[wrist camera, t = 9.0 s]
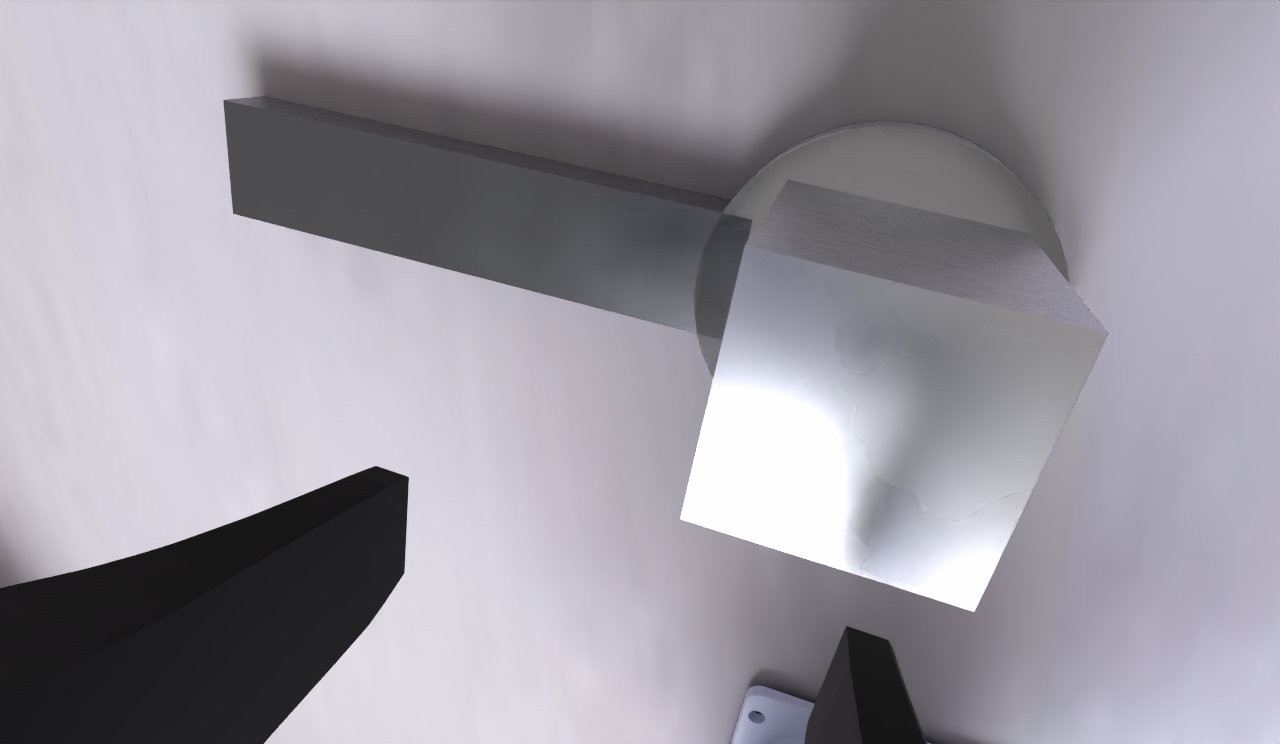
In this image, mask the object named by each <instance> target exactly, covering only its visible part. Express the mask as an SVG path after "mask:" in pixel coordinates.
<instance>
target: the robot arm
mask: <svg viewBox="0 0 1280 744" xmlns="http://www.w3.org/2000/svg"><path fill="white" fill-rule="evenodd" d="M408 483H409V477H407V476H404V475H401V474H398V473H395V472H392V471H389V470H386V469H383V468H380V467H377V466H375V467H372V468H369V469H366V470H364V471H361V472H358V473H356V474H353V475H351V476H348V477H346V478H343V479H341V480H338V481H336V482H333V483H331V484H328V485H326V486H324V487H321V488H319V489H316V490H314V491H311V492H309V493H307V494H304V495H302V496H299V497H297V498H294V499H292V500H289V501H287V502H284V503H282V504H279V505H277V506H274V507H272V508H269V509H267V510H264V511H262V512H259V513H257V514H254V515H252V516H249V517H246V518H244V519H241V520H238V521H235V522H232V523H230V524H227V525H224V526H221V527H218V528H216V529H213V530H210V531H207V532H204V533H202V534H199V535H196V536H193V537H191V538H188V539H185V540H182V541H179V542H176V543H173V544H170V545H167V546H164V547H161V548H158V549H154V550H151V551H148V552H145V553H141V554H138V555H134V556H131V557H127V558H124V559H120V560H117V561H113V562H109V563H106V564H102V565H99V566H95V567H91V568H87V569H83V570H79V571H75V572H70V573H66V574H62V575H57V576H53V577H48V578H44V579H39V580H35V581H30V582H26V583H22V584H17V585H13V586H8V587H4V588H0V744H264V743H265V742H266V740H267V739H268V738H269V737H270V736H271V734H272V733H273V732H274V731H275V730H276V729H277V728H278V727H279V725H280V724H281V723H282V722H283V721H284V720H285V719H286V718H287V717H288V715H289V714H290V713H291V712H292V711H293V710H294V709H295V708H296V707H297V705H298V704H299V703H300V702H301V701H302V700H303V699H304V698H305V696H306V695H307V694H308V693H309V692H310V691H311V690H312V689H313V688H314V686H315V685H316V684H317V683H318V682H319V681H320V680H321V679H322V677H323V676H324V675H325V674H326V673H327V672H328V671H329V670H330V669H331V667H332V666H333V665H334V664H335V663H336V662H337V661H338V660H339V658H340V657H341V656H342V655H343V654H344V653H345V652H346V650H347V649H348V648H349V647H350V646H351V645H352V644H353V643H354V641H355V640H356V639H357V638H358V637H359V636H360V635H361V633H362V632H363V631H364V630H365V629H366V628H367V626H368V625H369V624H370V622H371V621H372V620H373V618H374V617H375V615H376V614H377V613H378V611H379V610H380V608H381V607H382V606H383V604H384V603H385V601H386V600H387V598H388V597H389V595H390V594H391V592H392V591H393V589H394V588H395V586H396V585H397V583H398V582H399V580H400V579H401V577H402V576H403V574H404V568H405V547H406V525H407V504H408ZM753 711H759V712H760V713H762V714H758V713H755V712H753ZM730 744H931V743H928V742H926V740H925V737H924V734H923V732H922V729H921V727H920V724H919V722H918V719H917V716H916V714H915V711H914V708H913V706H912V703H911V700H910V697H909V695H908V692H907V689H906V686H905V683H904V680H903V678H902V675H901V672H900V669H899V666H898V663H897V660H896V657H895V653H894V650H893V648H892V646H891V644H890V643H889V641H888V640H886V639H883V638H880V637H877V636H874V635H871V634H868V633H865V632H862V631H860V630H857V629H854V628H851V627H848V626H846V628H845V630H844V633H843V635H842V638H841V640H840V643H839V645H838V648H837V650H836V653H835V655H834V658H833V660H832V663H831V665H830V668H829V670H828V673H827V675H826V677H825V680H824V682H823V685H822V687H821V690H820V692H819V695H818V697H817V700H816V702H815V704H814V703H811V702H808V701H806V700H803V699H800V698H797V697H794V696H791V695H788V694H785V693H782V692H779V691H776V690H773V689H771V688H768V687H764V686H753V687H751V688H749V689H748V690H747V692H746V695H745V698H744V701H743V705H742V708H741V711H740V714H739V717H738V721H737V724H736V727H735V730H734V734H733V737H732V740H731V743H730Z"/></svg>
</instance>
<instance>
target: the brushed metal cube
mask: <svg viewBox="0 0 1280 744" xmlns="http://www.w3.org/2000/svg"><path fill="white" fill-rule="evenodd" d="M1108 334H1109V333H1108V332H1107V331H1106V330H1105V328H1104V327H1103V326H1102V325H1101V323H1100V322H1099V321H1098V320H1097V318H1096V317H1095V316H1094V314H1093V313H1092V312H1091V311H1090V309H1089V308H1088V307H1087V306H1086V304H1085V303H1084V302H1083V301H1082V299H1081V298H1080V297H1079V296H1078V294H1077V293H1076V292H1075V291H1074V289H1073V288H1072V287H1071V285H1070V284H1069V283H1068V282H1067V280H1066V279H1065V278H1064V277H1063V275H1062V274H1061V273H1060V272H1059V270H1058V269H1057V268H1056V267H1055V265H1054V264H1053V263H1052V261H1051V260H1050V259H1049V258H1048V256H1047V255H1046V254H1045V253H1044V251H1043V250H1042V249H1041V248H1040V246H1039V245H1038V244H1037V243H1036V241H1035V240H1034V239H1033V238H1032V236H1031V235H1030V234H1029V233H1025V232H1021V231H1017V230H1012V229H1008V228H1003V227H999V226H994V225H990V224H985V223H981V222H976V221H972V220H967V219H963V218H958V217H954V216H949V215H945V214H940V213H936V212H932V211H927V210H923V209H918V208H914V207H909V206H905V205H900V204H896V203H891V202H887V201H882V200H878V199H873V198H869V197H864V196H860V195H855V194H851V193H847V192H842V191H838V190H833V189H829V188H824V187H820V186H815V185H811V184H806V183H802V182H797V181H793V180H787V182H786V183H785V185H784V186H783V188H782V189H781V191H780V192H779V194H778V196H777V197H776V199H775V200H774V202H773V203H772V205H771V206H770V208H769V209H768V211H767V212H766V214H765V215H764V217H763V218H762V220H761V221H760V223H759V224H758V226H757V227H756V229H755V230H754V232H753V233H752V235H751V236H750V238H749V239H748V241H747V243H746V244H745V246H744V250H743V255H742V259H741V263H740V267H739V272H738V276H737V280H736V284H735V289H734V293H733V297H732V301H731V306H730V310H729V314H728V318H727V323H726V327H725V331H724V335H723V340H722V344H721V348H720V352H719V357H718V361H717V365H716V369H715V374H714V378H713V382H712V386H711V391H710V395H709V399H708V403H707V408H706V412H705V416H704V420H703V425H702V429H701V433H700V438H699V442H698V446H697V450H696V455H695V459H694V463H693V467H692V472H691V476H690V480H689V484H688V489H687V493H686V497H685V501H684V506H683V510H682V514H681V518H680V519H682V520H685V521H688V522H691V523H695V524H698V525H701V526H704V527H707V528H710V529H714V530H717V531H720V532H723V533H726V534H729V535H733V536H736V537H739V538H742V539H745V540H748V541H752V542H755V543H758V544H761V545H764V546H767V547H771V548H774V549H777V550H780V551H783V552H786V553H790V554H793V555H796V556H799V557H802V558H805V559H808V560H812V561H815V562H818V563H821V564H824V565H827V566H831V567H834V568H837V569H840V570H843V571H846V572H850V573H853V574H856V575H859V576H862V577H865V578H869V579H872V580H875V581H878V582H881V583H884V584H888V585H891V586H894V587H897V588H900V589H903V590H907V591H910V592H913V593H916V594H919V595H922V596H925V597H929V598H932V599H935V600H938V601H941V602H944V603H948V604H951V605H954V606H957V607H960V608H963V609H967V610H970V611H973V612H974V611H975V609H976V607H977V605H978V603H979V601H980V599H981V597H982V595H983V593H984V590H985V588H986V586H987V584H988V582H989V580H990V578H991V576H992V574H993V572H994V570H995V568H996V566H997V564H998V561H999V559H1000V557H1001V555H1002V553H1003V551H1004V549H1005V547H1006V545H1007V543H1008V541H1009V539H1010V537H1011V535H1012V532H1013V530H1014V528H1015V526H1016V524H1017V522H1018V520H1019V518H1020V516H1021V514H1022V512H1023V510H1024V508H1025V506H1026V503H1027V501H1028V499H1029V497H1030V495H1031V493H1032V491H1033V489H1034V487H1035V485H1036V483H1037V481H1038V479H1039V477H1040V474H1041V472H1042V470H1043V468H1044V466H1045V464H1046V462H1047V460H1048V458H1049V456H1050V454H1051V452H1052V450H1053V448H1054V445H1055V443H1056V441H1057V439H1058V437H1059V435H1060V433H1061V431H1062V429H1063V427H1064V425H1065V423H1066V421H1067V419H1068V417H1069V414H1070V412H1071V410H1072V408H1073V406H1074V404H1075V402H1076V400H1077V398H1078V396H1079V394H1080V392H1081V390H1082V388H1083V385H1084V383H1085V381H1086V379H1087V377H1088V375H1089V373H1090V371H1091V369H1092V367H1093V365H1094V363H1095V361H1096V359H1097V356H1098V354H1099V352H1100V350H1101V348H1102V346H1103V344H1104V342H1105V340H1106V338H1107V336H1108Z"/></svg>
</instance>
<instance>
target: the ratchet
mask: <svg viewBox="0 0 1280 744" xmlns="http://www.w3.org/2000/svg"><path fill="white" fill-rule="evenodd" d="M224 112H225V123H226V135H227V147H228V158H229V170H230V182H231V193H232V205H233V214H237V215H241V216H244V217H248V218H252V219H256V220H260V221H264V222H268V223H271V224H275V225H279V226H283V227H287V228H291V229H295V230H298V231H302V232H306V233H310V234H314V235H318V236H322V237H326V238H329V239H333V240H337V241H341V242H345V243H349V244H353V245H356V246H360V247H364V248H368V249H372V250H376V251H380V252H384V253H387V254H391V255H395V256H399V257H403V258H407V259H411V260H414V261H418V262H422V263H426V264H430V265H434V266H438V267H442V268H445V269H449V270H453V271H457V272H461V273H465V274H469V275H472V276H476V277H480V278H484V279H488V280H492V281H496V282H499V283H503V284H507V285H511V286H515V287H519V288H523V289H527V290H530V291H534V292H538V293H542V294H546V295H550V296H554V297H557V298H561V299H565V300H569V301H573V302H577V303H581V304H585V305H588V306H592V307H596V308H600V309H604V310H608V311H612V312H615V313H619V314H623V315H627V316H631V317H635V318H639V319H642V320H646V321H650V322H654V323H658V324H662V325H666V326H670V327H673V328H677V329H681V330H685V331H689V332H693V333H697V336H698V339H699V343H700V347H701V350H702V354H703V356H704V359H705V361H706V363H707V366H708V368H709V370H710V373H711V375H712V376H713V378H714V374H715V369H716V365H717V361H718V357H719V352H720V348H721V344H722V340H723V335H724V331H725V327H726V323H727V318H728V314H729V310H730V306H731V301H732V297H733V293H734V289H735V284H736V280H737V276H738V272H739V267H740V263H741V259H742V255H743V250H744V246H745V244H746V243H747V241H748V239H749V238H750V236H751V235H752V233H753V232H754V230H755V229H756V227H757V226H758V224H759V223H760V221H761V220H762V218H763V217H764V215H765V214H766V212H767V211H768V209H769V208H770V206H771V205H772V203H773V202H774V200H775V199H776V197H777V196H778V194H779V192H780V191H781V189H782V188H783V186H784V185H785V183H786V182H787V180H793V181H797V182H802V183H806V184H811V185H815V186H820V187H824V188H829V189H833V190H838V191H842V192H847V193H851V194H855V195H860V196H864V197H869V198H873V199H878V200H882V201H887V202H891V203H896V204H900V205H905V206H909V207H914V208H918V209H923V210H927V211H932V212H936V213H940V214H945V215H949V216H954V217H958V218H963V219H967V220H972V221H976V222H981V223H985V224H990V225H994V226H999V227H1003V228H1008V229H1012V230H1017V231H1021V232H1025V233H1029V234H1030V235H1031V236H1032V238H1033V239H1034V240H1035V241H1036V243H1037V244H1038V245H1039V246H1040V248H1041V249H1042V250H1043V251H1044V253H1045V254H1046V255H1047V256H1048V258H1049V259H1050V260H1051V261H1052V263H1053V264H1054V265H1055V267H1056V268H1057V269H1058V270H1059V272H1060V273H1061V274H1062V275H1063V277H1064V278H1065V279H1066V280H1067V282H1068V283H1069V280H1068V271H1067V264H1066V260H1065V257H1064V253H1063V249H1062V246H1061V242H1060V240H1059V238H1058V235H1057V233H1056V231H1055V229H1054V226H1053V224H1052V222H1051V220H1050V218H1049V217H1048V215H1047V214H1046V212H1045V210H1044V209H1043V207H1042V206H1041V204H1040V203H1039V201H1038V200H1037V198H1036V197H1035V196H1034V195H1033V194H1032V193H1031V192H1030V190H1029V189H1028V188H1027V187H1026V186H1025V185H1024V184H1023V183H1022V182H1021V180H1020V179H1019V178H1018V177H1017V176H1016V175H1015V174H1014V173H1013V172H1012V171H1011V170H1010V169H1009V168H1007V167H1006V166H1005V165H1004V164H1003V163H1001V162H1000V161H999V160H998V159H996V158H995V157H994V156H993V155H992V154H990V153H989V152H987V151H986V150H984V149H982V148H981V147H979V146H977V145H976V144H974V143H972V142H971V141H969V140H967V139H964V138H962V137H960V136H957V135H955V134H953V133H950V132H948V131H945V130H941V129H938V128H934V127H930V126H926V125H922V124H915V123H907V122H899V121H872V122H865V123H858V124H851V125H846V126H842V127H839V128H835V129H831V130H828V131H824V132H822V133H819V134H817V135H814V136H812V137H810V138H807V139H805V140H802V141H801V142H799V143H797V144H795V145H794V146H792V147H790V148H788V149H787V150H785V151H783V152H782V153H780V154H779V155H778V156H776V157H775V158H774V159H772V160H771V161H770V162H768V163H767V164H766V165H764V166H763V167H762V168H761V169H760V170H759V171H758V172H757V173H756V174H755V175H754V176H753V177H752V178H751V179H750V180H749V181H748V182H747V183H746V184H745V185H744V186H743V187H742V188H741V190H740V191H739V192H738V193H737V194H736V195H735V197H734V198H733V199H732V200H728V199H724V198H719V197H715V196H711V195H706V194H702V193H697V192H693V191H688V190H684V189H679V188H675V187H670V186H666V185H661V184H657V183H652V182H648V181H643V180H639V179H634V178H630V177H625V176H621V175H616V174H612V173H607V172H603V171H598V170H594V169H589V168H585V167H580V166H576V165H571V164H567V163H562V162H558V161H553V160H549V159H544V158H540V157H535V156H531V155H526V154H522V153H517V152H513V151H508V150H504V149H499V148H495V147H490V146H486V145H481V144H477V143H472V142H468V141H463V140H459V139H454V138H450V137H445V136H441V135H436V134H432V133H427V132H423V131H418V130H414V129H409V128H405V127H400V126H396V125H391V124H387V123H382V122H378V121H373V120H369V119H364V118H360V117H355V116H351V115H346V114H342V113H337V112H333V111H328V110H324V109H319V108H315V107H310V106H306V105H301V104H297V103H292V102H288V101H283V100H279V99H274V98H270V97H265V96H262V97H251V98H240V99H229V100H224Z"/></svg>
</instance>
